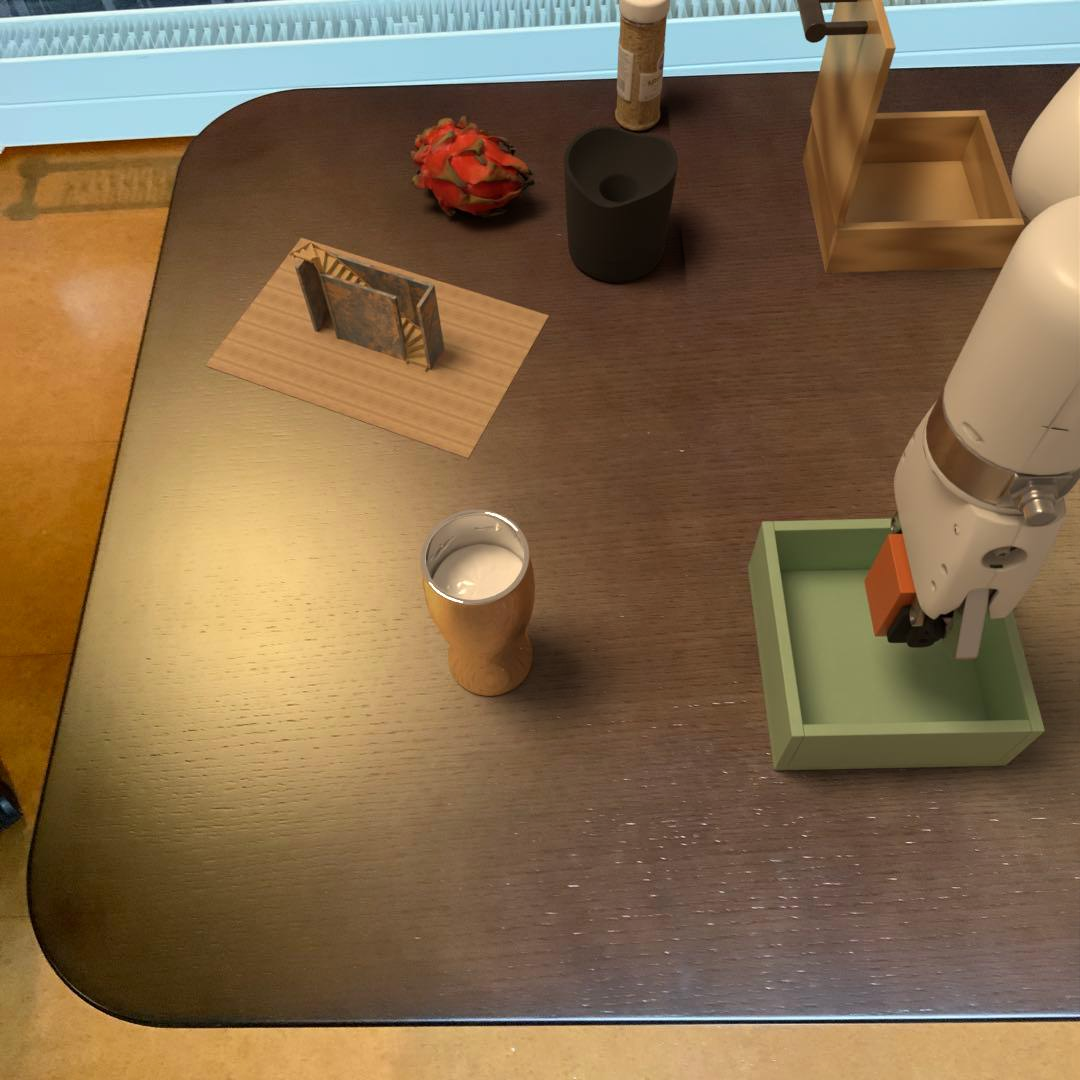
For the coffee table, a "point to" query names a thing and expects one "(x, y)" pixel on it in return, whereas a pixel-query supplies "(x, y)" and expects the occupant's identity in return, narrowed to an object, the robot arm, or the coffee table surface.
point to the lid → (847, 87)
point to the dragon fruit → (468, 168)
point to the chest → (920, 197)
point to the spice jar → (640, 62)
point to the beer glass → (481, 598)
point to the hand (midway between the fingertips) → (905, 602)
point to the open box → (873, 665)
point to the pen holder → (618, 201)
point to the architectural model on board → (381, 345)
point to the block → (889, 584)
